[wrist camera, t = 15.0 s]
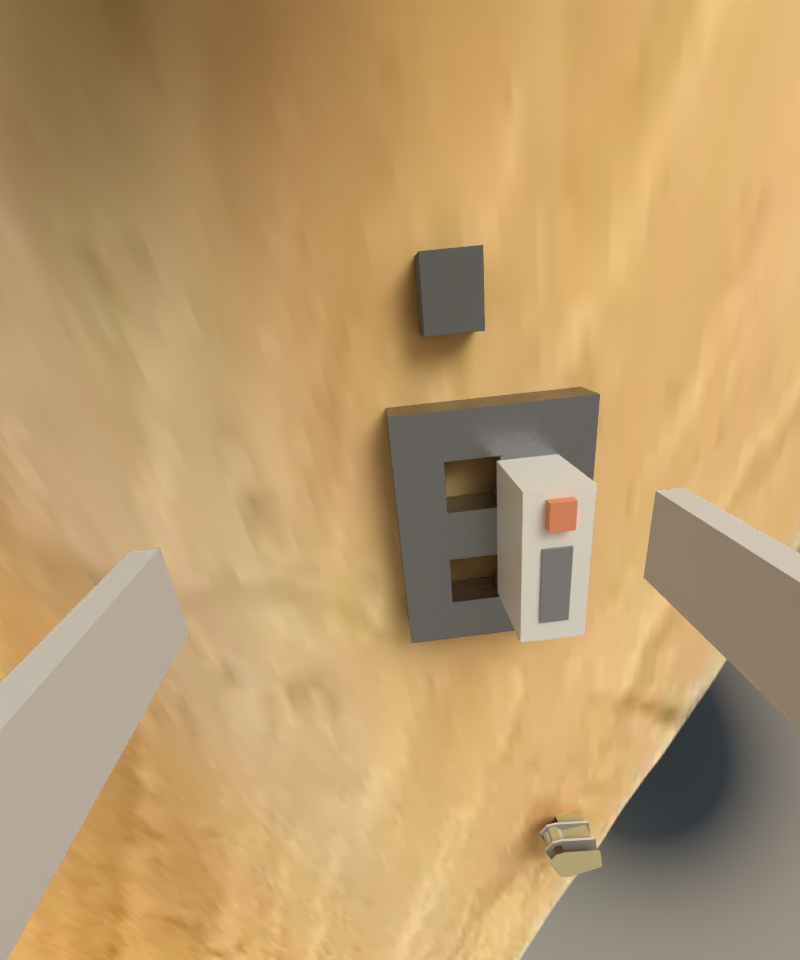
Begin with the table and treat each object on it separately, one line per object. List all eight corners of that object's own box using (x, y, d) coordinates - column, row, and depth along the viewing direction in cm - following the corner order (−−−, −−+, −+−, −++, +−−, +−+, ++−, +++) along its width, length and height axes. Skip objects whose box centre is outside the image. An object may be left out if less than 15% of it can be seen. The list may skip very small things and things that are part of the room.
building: (589, 791, 62) (609, 835, 57) (594, 828, 65) (614, 872, 60) (521, 807, 62) (535, 852, 57) (530, 843, 65) (544, 888, 60)
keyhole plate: (408, 620, 48) (411, 643, 45) (385, 408, 39) (387, 417, 36) (567, 601, 48) (581, 622, 45) (580, 386, 39) (599, 394, 36)
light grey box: (489, 575, 46) (523, 649, 36) (487, 450, 41) (526, 496, 31) (540, 569, 46) (588, 641, 36) (545, 444, 41) (602, 488, 31)
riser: (420, 334, 37) (424, 336, 34) (414, 256, 35) (418, 251, 32) (475, 328, 37) (484, 330, 34) (473, 250, 35) (483, 245, 32)
